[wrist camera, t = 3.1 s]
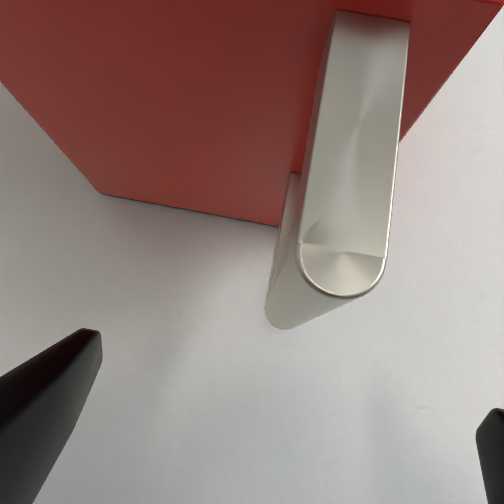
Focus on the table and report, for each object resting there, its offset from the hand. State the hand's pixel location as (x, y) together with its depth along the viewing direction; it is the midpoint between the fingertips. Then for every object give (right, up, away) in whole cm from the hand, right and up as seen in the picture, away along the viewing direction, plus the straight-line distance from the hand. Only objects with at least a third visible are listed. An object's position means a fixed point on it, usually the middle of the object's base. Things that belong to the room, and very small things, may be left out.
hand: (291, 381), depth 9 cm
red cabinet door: (-3, +3, +10) cm, 11 cm away
